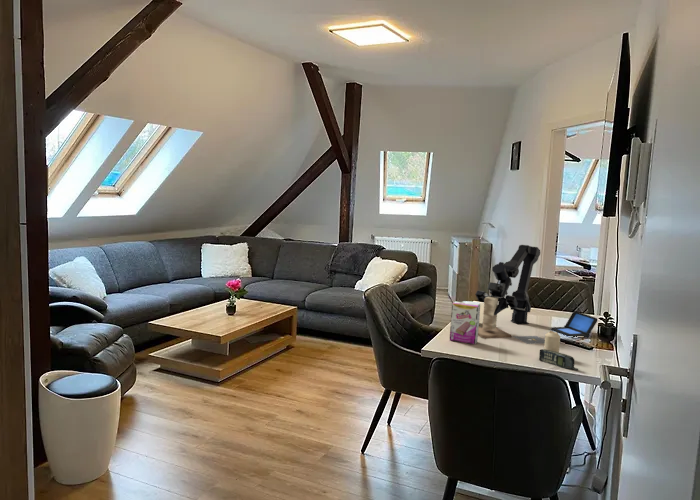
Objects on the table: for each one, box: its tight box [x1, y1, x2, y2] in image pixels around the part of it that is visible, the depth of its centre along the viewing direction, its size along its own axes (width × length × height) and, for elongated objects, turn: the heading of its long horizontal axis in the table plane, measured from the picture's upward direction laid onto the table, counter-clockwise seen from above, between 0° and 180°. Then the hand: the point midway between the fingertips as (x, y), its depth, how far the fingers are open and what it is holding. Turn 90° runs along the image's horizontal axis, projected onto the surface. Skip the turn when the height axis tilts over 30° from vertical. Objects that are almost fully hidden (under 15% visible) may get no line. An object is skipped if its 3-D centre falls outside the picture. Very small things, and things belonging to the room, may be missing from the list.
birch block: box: [482, 297, 499, 330], centre depth 241 cm, size 4×4×14 cm
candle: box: [543, 330, 561, 353], centre depth 210 cm, size 6×6×10 cm
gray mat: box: [512, 335, 545, 345], centre depth 235 cm, size 12×12×1 cm
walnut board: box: [478, 326, 512, 339], centre depth 242 cm, size 14×14×1 cm
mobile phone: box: [538, 348, 579, 371], centre depth 199 cm, size 5×3×15 cm
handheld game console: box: [550, 310, 598, 338], centre depth 249 cm, size 16×13×9 cm
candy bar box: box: [449, 300, 481, 345], centre depth 226 cm, size 11×5×16 cm, turn 65°
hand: (489, 313), depth 240 cm, fingers closed on birch block, 4 cm apart
